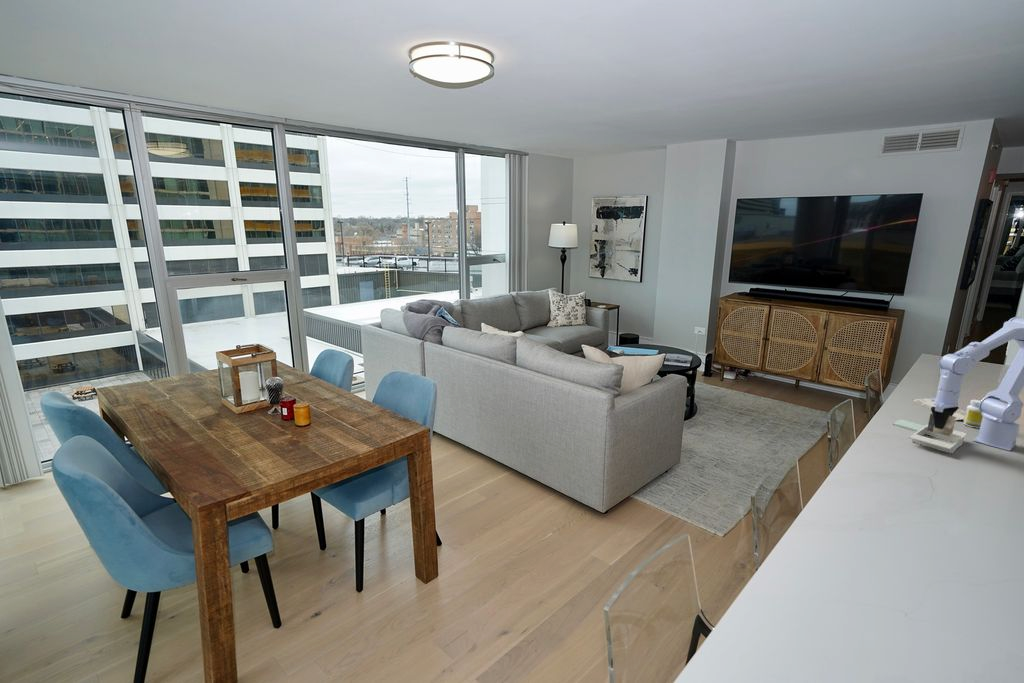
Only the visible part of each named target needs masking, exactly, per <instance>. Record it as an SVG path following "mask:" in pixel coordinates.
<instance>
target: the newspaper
mask: <svg viewBox="0 0 1024 683" xmlns="http://www.w3.org/2000/svg"><path fill="white" fill-rule="evenodd" d="M932 398H933V397H931V398H929V397H928V398H927V397H925V398H917V399H913V402H915V403H916V404H919V405H921V406H923V407H924V408H927V409H929V408H930V409H929V410H931V407H936V404H935V402H934V401H931V399H932ZM965 412H966V410H965V409H964V410H963V409H962V408H959V409H958V410H956V412H955V413H954V414H953V416H954V417H956V420H955V421H959V420H964V417H965Z"/></svg>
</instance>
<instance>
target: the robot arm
mask: <svg viewBox="0 0 1024 683" xmlns="http://www.w3.org/2000/svg"><path fill="white" fill-rule="evenodd" d="M1013 340H1014V341H1015V342H1016V343H1017V345H1018V346H1019V349H1018V351H1017V353H1016V355H1015V357H1014V359H1013V360H1012V362H1011V364H1010V365H1009V368H1008V369H1007V371H1006V373H1005V374H1004V376H1003V379H1002V380H1001V382H1000V383H999V386H998V387H997V389H995V390H994V389H993V390H991V391H988V392H987V393H986V395H985V396H984V397H983V398H982V399H981V400H980V403H979V410H980V411H981V412H982V413H981V415H983V418H982V422H981V426H980V428H979V431H978V434H977V436H976V437H974V439H973V440H972V441H973V442H975V443H980V444H982V445H987V446H991V447H994V448H997V449H1002V450H1005V451H1011V450H1012V449H1013V448H1014V447H1015V446H1016V443H1017V438H1018V433H1019V431H1020V426H1021V425H1020V424H1019V423H1016V421H1017V420H1019V419H1020V418H1021V415H1022V409H1023V408H1024V402H1023V401H1022V399H1021V398H1020V397H1019V395H1020V393H1021V392H1022V390H1023V388H1024V318H1023V317H1020V316H1014V317H1011V318H1009V320H1008V321H1007V320H1006V321H1004V322H1003V326H1002V327H1001V328H1000V329H998V330H996V332H994V333H993V334H990V336H988V337H987V338H985V339H984V340H982V341H981V342H979V341H972V342H970V343H968V344H967V345H966V346H964V347H963V348H961V349H960V350H959V349H958V350H957V351H956V352H954V353H947V354H945V355H943V356H942V357H941V358H940V360H939V361H938V367H939V369H940V371H939V373H940V378H939V382H938V387H937V391H936V396H935V397H931V398H932V399H931V401H934V402H935V404H936V407H931V409H930V411H931V414H932V413H933V416H934V426H935V428H938V429H943V428H944V426H945V424H946V421H947V419H948V418H949V416H953V414H954V413H955V412H956V410H958V409H960V408H959V406H958V405H959V398H960V395H961V390H962V385H963V381H964V376H965V374H967V373H969V372H970V370H971V369H972V367H974V365H975V364H976V363H978V362H980V361H981V360H983V359H985V358H988V357H989V355H990V353H991V352H990V351H992V350H994V349H996V348H998V347H999V346H1001V345H1004V344H1006V343H1008V342H1011V341H1013Z"/></svg>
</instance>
